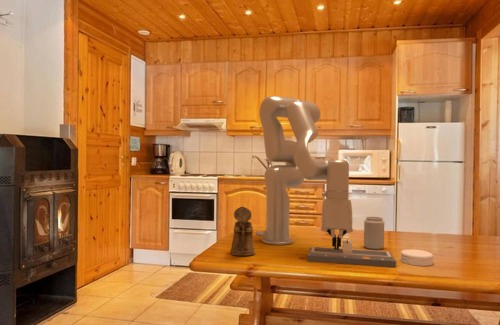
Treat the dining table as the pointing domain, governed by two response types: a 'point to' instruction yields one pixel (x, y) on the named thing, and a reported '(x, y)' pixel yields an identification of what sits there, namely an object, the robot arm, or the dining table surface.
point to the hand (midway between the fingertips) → (336, 248)
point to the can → (374, 233)
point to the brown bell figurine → (242, 234)
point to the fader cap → (347, 246)
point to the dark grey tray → (351, 257)
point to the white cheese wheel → (417, 257)
